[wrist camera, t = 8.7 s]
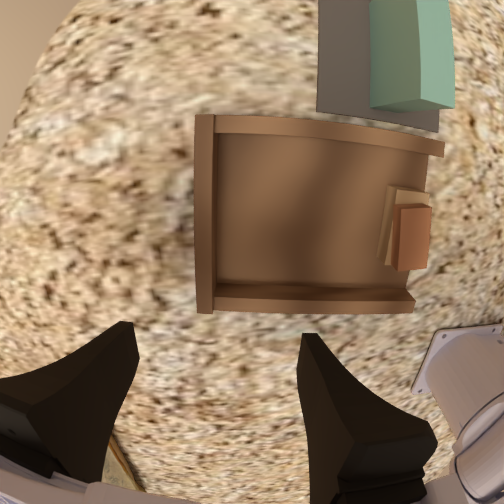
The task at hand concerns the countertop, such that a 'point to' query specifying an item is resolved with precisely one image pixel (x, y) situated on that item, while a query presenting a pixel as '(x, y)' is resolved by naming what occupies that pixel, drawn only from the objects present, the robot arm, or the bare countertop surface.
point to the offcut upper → (410, 236)
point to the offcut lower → (392, 197)
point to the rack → (298, 214)
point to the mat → (353, 66)
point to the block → (411, 55)
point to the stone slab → (118, 468)
